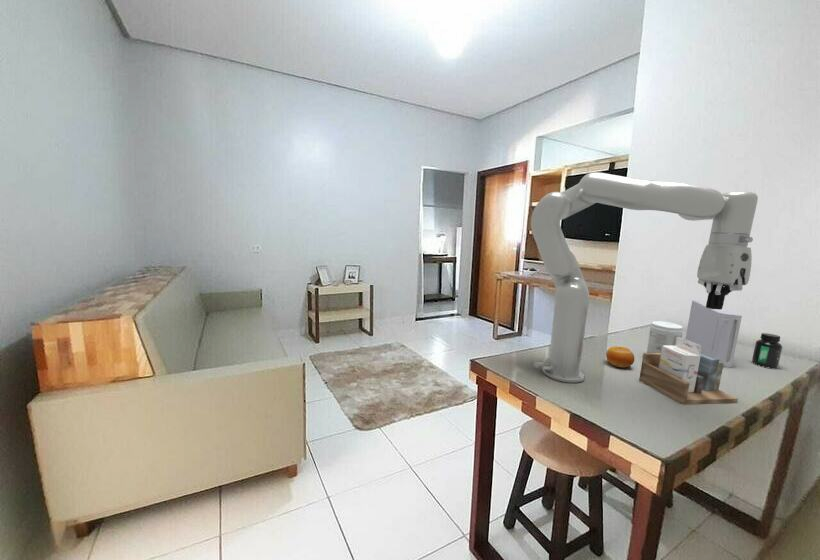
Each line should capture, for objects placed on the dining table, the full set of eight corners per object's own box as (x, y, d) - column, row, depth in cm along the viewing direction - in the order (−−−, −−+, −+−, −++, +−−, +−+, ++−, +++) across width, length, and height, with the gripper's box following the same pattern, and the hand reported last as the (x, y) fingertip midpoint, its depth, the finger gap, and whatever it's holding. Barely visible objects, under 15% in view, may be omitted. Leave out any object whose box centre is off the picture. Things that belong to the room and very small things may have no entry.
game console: (711, 365, 122) (721, 313, 119) (683, 343, 147) (691, 300, 144) (731, 368, 120) (742, 315, 117) (700, 345, 145) (708, 301, 142)
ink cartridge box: (655, 379, 104) (662, 335, 102) (669, 379, 105) (676, 335, 103) (679, 393, 96) (688, 345, 94) (694, 393, 96) (703, 345, 94)
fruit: (611, 349, 125) (618, 336, 119) (634, 363, 119) (642, 351, 114) (598, 361, 122) (605, 349, 116) (622, 377, 116) (629, 365, 111)
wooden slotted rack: (682, 404, 92) (688, 366, 90) (639, 379, 107) (644, 347, 105) (737, 402, 94) (745, 366, 92) (688, 379, 109) (693, 347, 107)
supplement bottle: (763, 368, 121) (770, 337, 119) (746, 361, 128) (752, 331, 126) (783, 369, 121) (790, 338, 119) (765, 362, 128) (771, 332, 126)
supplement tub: (669, 358, 127) (675, 322, 125) (682, 368, 118) (689, 329, 116) (641, 355, 129) (646, 319, 127) (651, 364, 120) (658, 326, 118)
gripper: (774, 243, 79) (757, 316, 82) (712, 240, 93) (699, 302, 96) (746, 241, 78) (730, 315, 81) (688, 238, 93) (676, 301, 95)
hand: (713, 308), depth 89 cm, fingers closed
